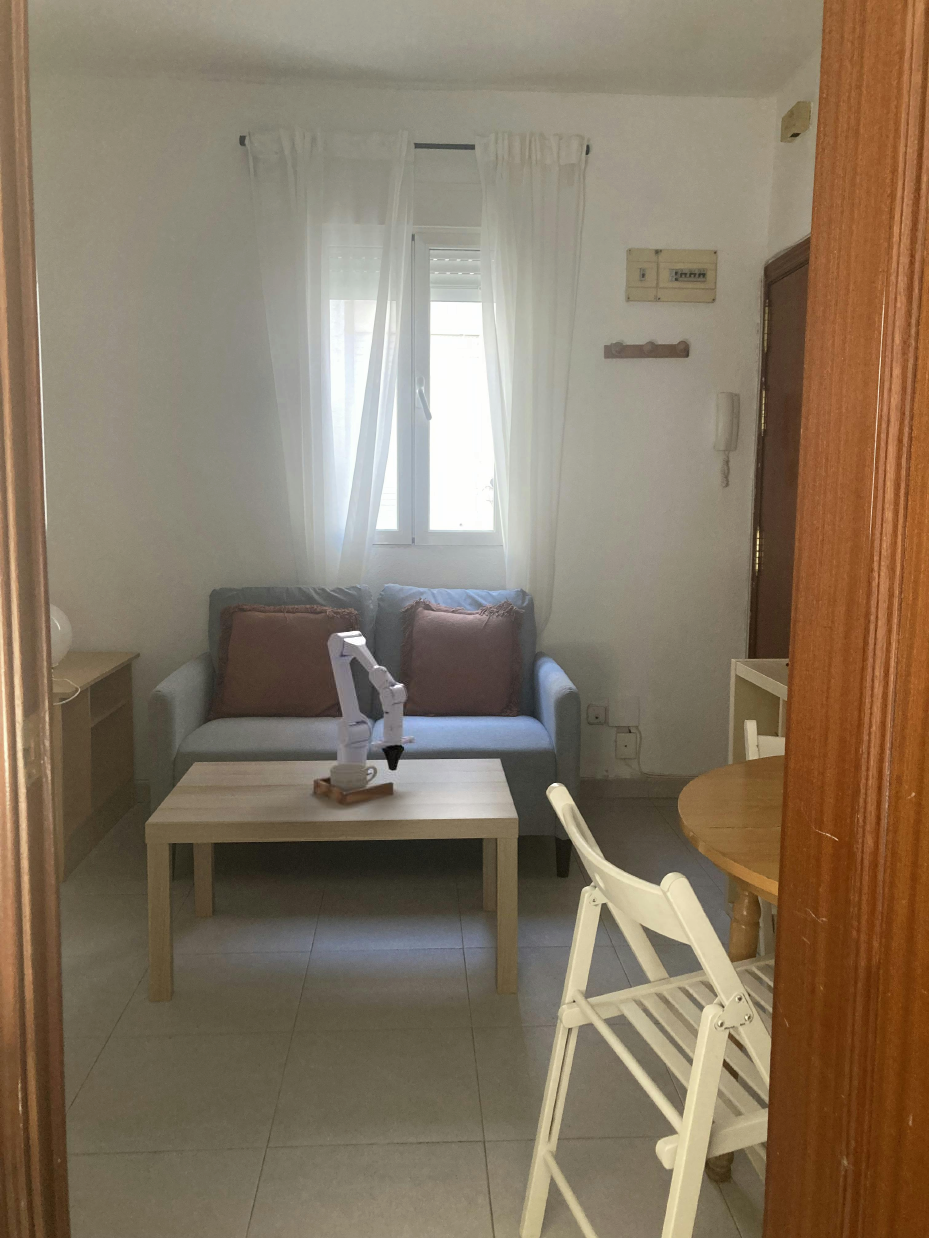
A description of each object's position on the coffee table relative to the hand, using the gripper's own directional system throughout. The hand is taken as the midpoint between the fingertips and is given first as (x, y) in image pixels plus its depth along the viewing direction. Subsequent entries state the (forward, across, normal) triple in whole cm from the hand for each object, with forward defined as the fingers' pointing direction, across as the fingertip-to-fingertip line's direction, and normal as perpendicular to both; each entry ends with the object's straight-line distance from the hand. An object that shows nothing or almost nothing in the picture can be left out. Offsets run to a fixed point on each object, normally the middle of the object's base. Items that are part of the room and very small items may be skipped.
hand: (392, 769), depth 281 cm
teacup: (+5, -14, 0) cm, 15 cm away
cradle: (+4, -13, 0) cm, 14 cm away
